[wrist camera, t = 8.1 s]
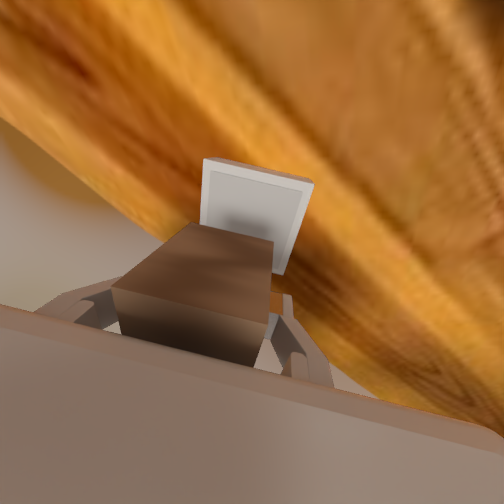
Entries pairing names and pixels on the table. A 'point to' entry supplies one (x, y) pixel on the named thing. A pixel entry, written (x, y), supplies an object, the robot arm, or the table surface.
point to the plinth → (255, 203)
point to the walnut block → (200, 294)
